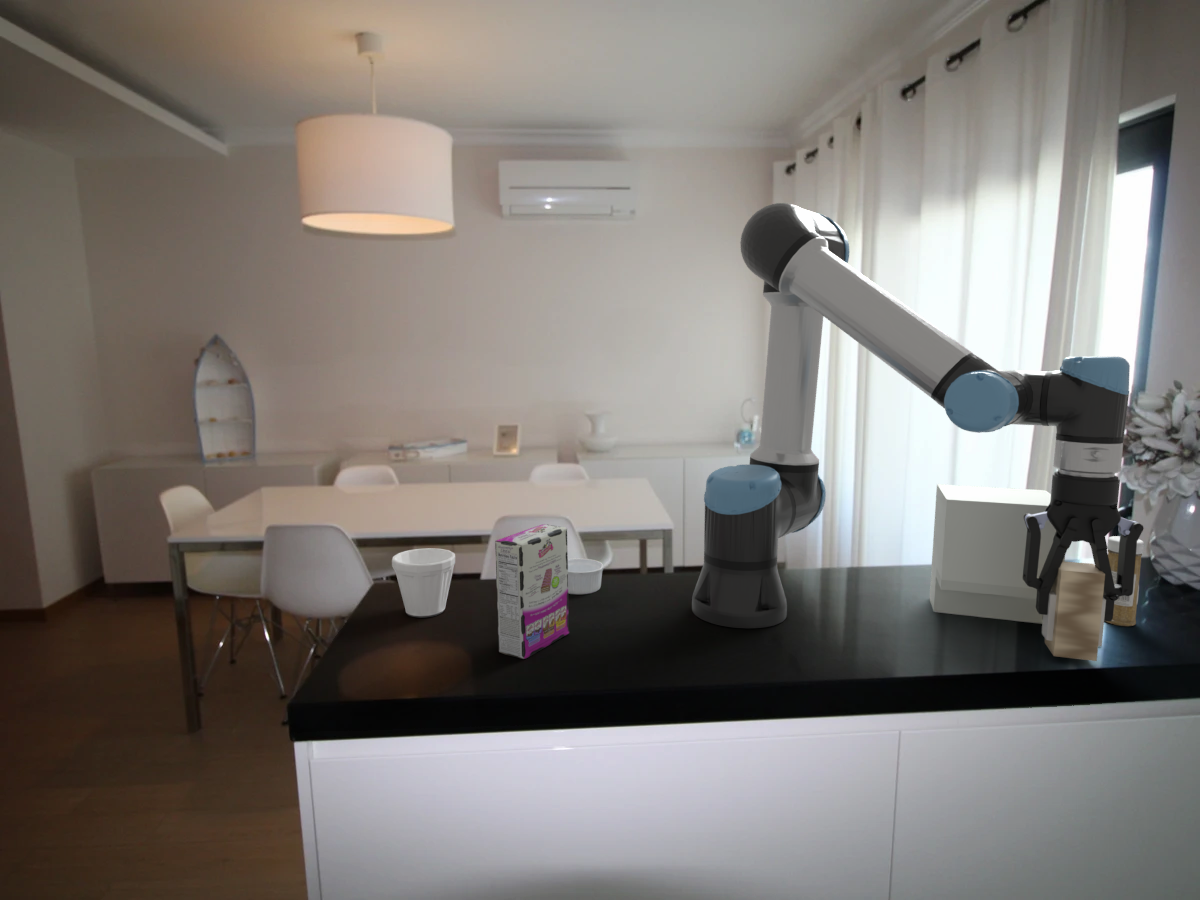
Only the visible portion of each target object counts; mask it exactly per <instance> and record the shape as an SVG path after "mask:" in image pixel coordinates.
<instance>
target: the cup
mask: <svg viewBox="0 0 1200 900" xmlns="http://www.w3.org/2000/svg"><path fill="white" fill-rule="evenodd" d="M455 565H456V553H455V552H453V551H451V550H449V549H443V548H434V547H433V548H432V547H431V548H430V547H429V548H428V547H427V548H415V549H409V550H404V551H401V552H398V553H396V554H395V555H393V556H392V559H391V567H392V568H393V570H394V572H395V575H396V578H397V582H398V586H399V591H400V594H401V597H402V598H401V599H402V601H403V606H404V608H405V613H406V615H407V616H409V617H413V618H418V619H419V618H421V619H424V618H432V617H436V616H438V615H441V614H442V613H443V612H444V611H445V609H446V605H447V599H448V596H449V592H450V591H449V590H450V586H451V583H452V577H453V572H454V566H455Z"/></svg>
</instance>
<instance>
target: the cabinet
mask: <svg viewBox="0 0 1200 900" xmlns="http://www.w3.org/2000/svg"><path fill="white" fill-rule="evenodd" d="M935 495H936V496H935V510H934V524H933V539H932V542H933V543H932V555H931V567H930V568H931V569H930V570H931V573H930V584H929V585H930V587H929V602H930V604H931V605H930V606H931V608H932V611H933V612H934V613H941V614H952V615H959V616H967V617H978V618H987V619H995V620H1006V621H1015V622H1024V623H1033V624H1043V620H1042V614H1039V613H1038V612H1037V609H1036V597H1037V589H1035V588H1033V587H1029V586H1027V584H1026V583H1025V582H1024V580H1023V568H1024V558H1025V548H1026V537H1027V527H1026V524H1025V521H1024V515H1025V514H1026V513H1030V514H1037V513H1041V512H1045V510H1046V508H1047V507H1048V506H1049V504H1050V500H1051V492H1048V491H1047V490H1045V489H1029V488H1011V487H1010V488H1009V487H996V486H995V487H993V486H975V485H974V486H973V485H957V484H939V483H936V493H935ZM1040 531H1041V541H1040V551H1039V561H1038V571H1037V578H1039V576H1040V573H1041V571H1042V568H1043V566H1044V563H1045V561H1046V558H1047V556H1048V554H1049V551H1050V549H1051V546H1052V544H1053V538H1054V535H1055V533H1056V529H1055V528H1054V527H1053V525H1052V524H1051V523H1050V521H1049V520H1047V521H1046V522H1045V527H1044V528H1043V529H1041V530H1040ZM1063 561H1065V562H1066V555H1065V556H1064V559H1063Z"/></svg>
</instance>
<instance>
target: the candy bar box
mask: <svg viewBox="0 0 1200 900" xmlns="http://www.w3.org/2000/svg"><path fill="white" fill-rule="evenodd" d="M494 543H495V546H494V547H495V548H494V549H495V571H496V572H495V574H496V578H495V579H496V594H497V595H496V598H497V600H496V602H497V603H496V604H497V607H496V609H497V634H498V635H497V636H498V637H497V638H498V652H499V653H501V654H503V655H506V656H511V657H514V658H518V659H520V660H521V659H522V660H525V659H527V658H529V657H531V656H533V655H535V654H536V653H538V652H539V651H541V650H543V649H545V648H547V647H548V646H550V645H553V643H555V642H557V641H558V640H561V639H562V638H563V637H566V636H567V635H569V634H570V626H569V625H570V623H569V622H570V619H569V618H570V617H569V610H570V609H569V593H568V559H569V558H568V528H567V527H563V526H557V525H550V524H545V523H544V524H540V525H537V526H534V527H531V528H528V529H525V530H522V531H520V532H516V533H513V534H510V535H507V536H505V537H502V538H499V539H496V540H495V541H494Z"/></svg>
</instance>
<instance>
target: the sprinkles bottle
mask: <svg viewBox="0 0 1200 900" xmlns="http://www.w3.org/2000/svg"><path fill="white" fill-rule="evenodd" d="M1120 536H1121V535H1117V536H1116V535H1115V536H1114V535H1113V536H1109V537H1108V539H1107V543H1106V544H1107V553H1108V558H1109V562H1110V567H1111V572H1112V577H1113V581H1114V585H1115V584H1116V580H1117V567H1118V555H1119V542H1120ZM1144 544H1145V543H1144V541H1143V540H1141V539H1140V538H1139V539H1138V540H1137V548H1136V560H1135V572H1134V584H1133V593H1132V595H1130V596H1125V595H1124V596H1119V597H1118V599H1117V600H1116V601H1114V611H1113V619H1112V620H1111V622H1110V621H1105V622H1106V623H1108V624H1111V625H1114V626H1120V627H1132V626H1135V625H1137V620H1136V617H1137V609H1138V608H1137V607H1138V606H1137V605H1138V602H1139V591H1140V577H1141V564H1142V556H1143V554H1144V551H1145V550H1144V549H1145V545H1144Z"/></svg>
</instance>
